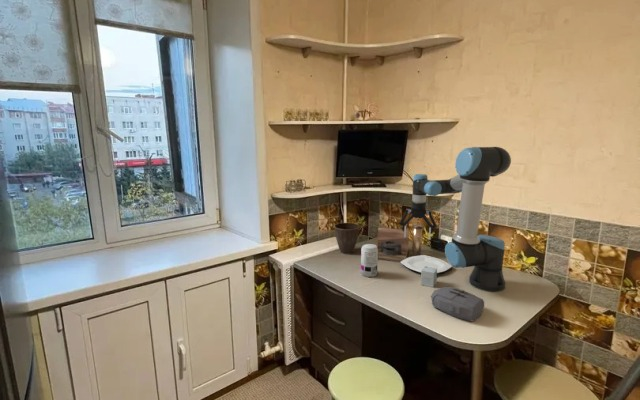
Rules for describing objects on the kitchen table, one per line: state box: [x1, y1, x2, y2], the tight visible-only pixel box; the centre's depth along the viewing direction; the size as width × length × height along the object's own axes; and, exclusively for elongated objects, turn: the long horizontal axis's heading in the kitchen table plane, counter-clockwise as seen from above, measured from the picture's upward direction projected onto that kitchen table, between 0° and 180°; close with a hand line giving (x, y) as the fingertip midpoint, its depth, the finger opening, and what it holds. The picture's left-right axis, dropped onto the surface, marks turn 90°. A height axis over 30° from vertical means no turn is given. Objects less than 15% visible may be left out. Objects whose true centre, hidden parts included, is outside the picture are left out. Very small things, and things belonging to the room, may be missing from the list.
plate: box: [399, 254, 453, 274], centre depth 182 cm, size 23×23×2 cm
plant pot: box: [333, 222, 360, 254], centre depth 205 cm, size 15×15×16 cm
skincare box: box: [420, 266, 438, 288], centre depth 162 cm, size 6×6×7 cm
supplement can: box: [360, 243, 379, 278], centre depth 173 cm, size 8×8×15 cm
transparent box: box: [377, 227, 410, 263], centre depth 198 cm, size 18×18×14 cm
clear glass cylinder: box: [411, 224, 424, 257], centre depth 197 cm, size 5×5×18 cm
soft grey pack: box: [430, 286, 485, 322], centre depth 139 cm, size 15×8×20 cm
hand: (417, 237), depth 197 cm, fingers open, 13 cm apart
